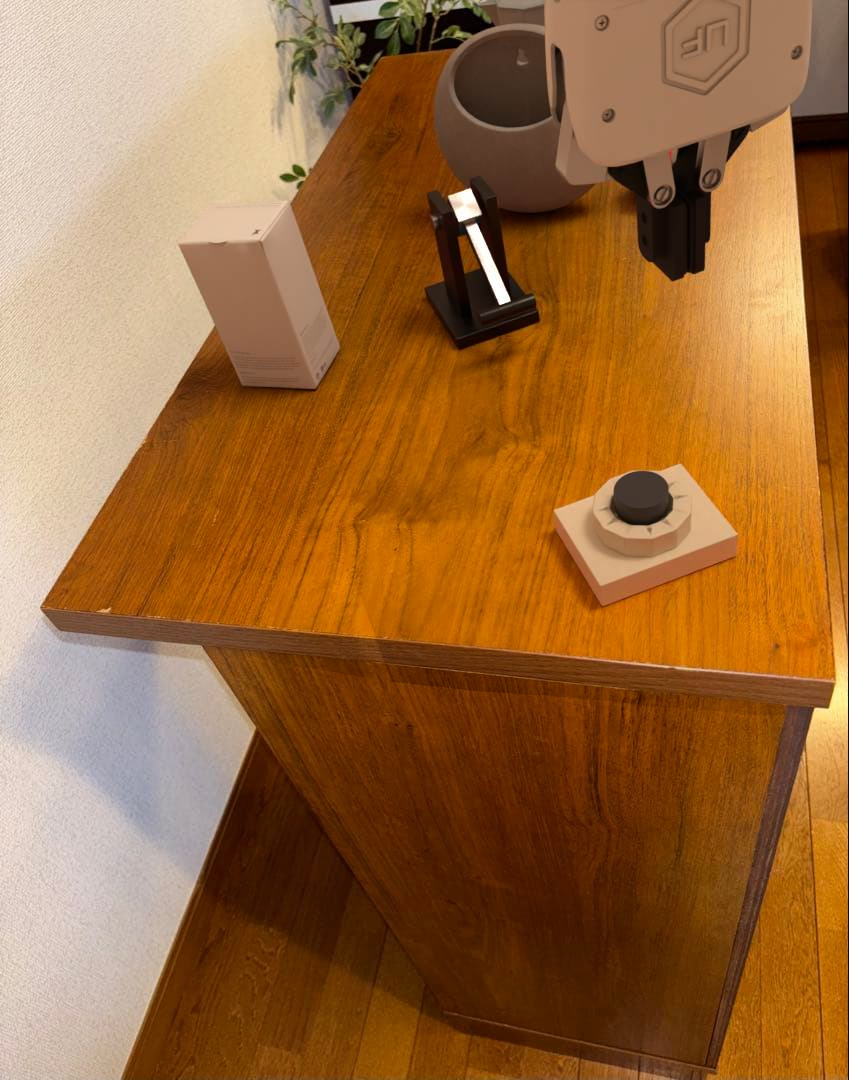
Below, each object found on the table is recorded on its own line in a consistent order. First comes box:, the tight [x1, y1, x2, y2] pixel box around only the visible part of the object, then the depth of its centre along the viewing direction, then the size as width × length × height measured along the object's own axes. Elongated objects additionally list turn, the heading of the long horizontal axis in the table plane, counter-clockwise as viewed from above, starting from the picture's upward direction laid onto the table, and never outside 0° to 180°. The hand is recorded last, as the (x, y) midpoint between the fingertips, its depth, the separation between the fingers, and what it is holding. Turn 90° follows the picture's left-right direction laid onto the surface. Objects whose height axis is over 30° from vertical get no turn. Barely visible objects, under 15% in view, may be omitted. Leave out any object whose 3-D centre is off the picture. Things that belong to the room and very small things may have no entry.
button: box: [614, 470, 669, 526], centre depth 66 cm, size 4×4×2 cm
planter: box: [433, 23, 597, 214], centre depth 97 cm, size 18×7×19 cm, turn 72°
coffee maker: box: [477, 0, 545, 63], centre depth 111 cm, size 15×9×18 cm, turn 73°
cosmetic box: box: [177, 200, 341, 390], centre depth 87 cm, size 8×7×16 cm
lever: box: [446, 188, 538, 327], centre depth 85 cm, size 12×5×2 cm, turn 18°
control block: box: [553, 463, 739, 607], centre depth 68 cm, size 10×8×4 cm
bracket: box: [424, 176, 541, 350], centre depth 89 cm, size 10×8×12 cm
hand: (673, 263), depth 48 cm, fingers closed
